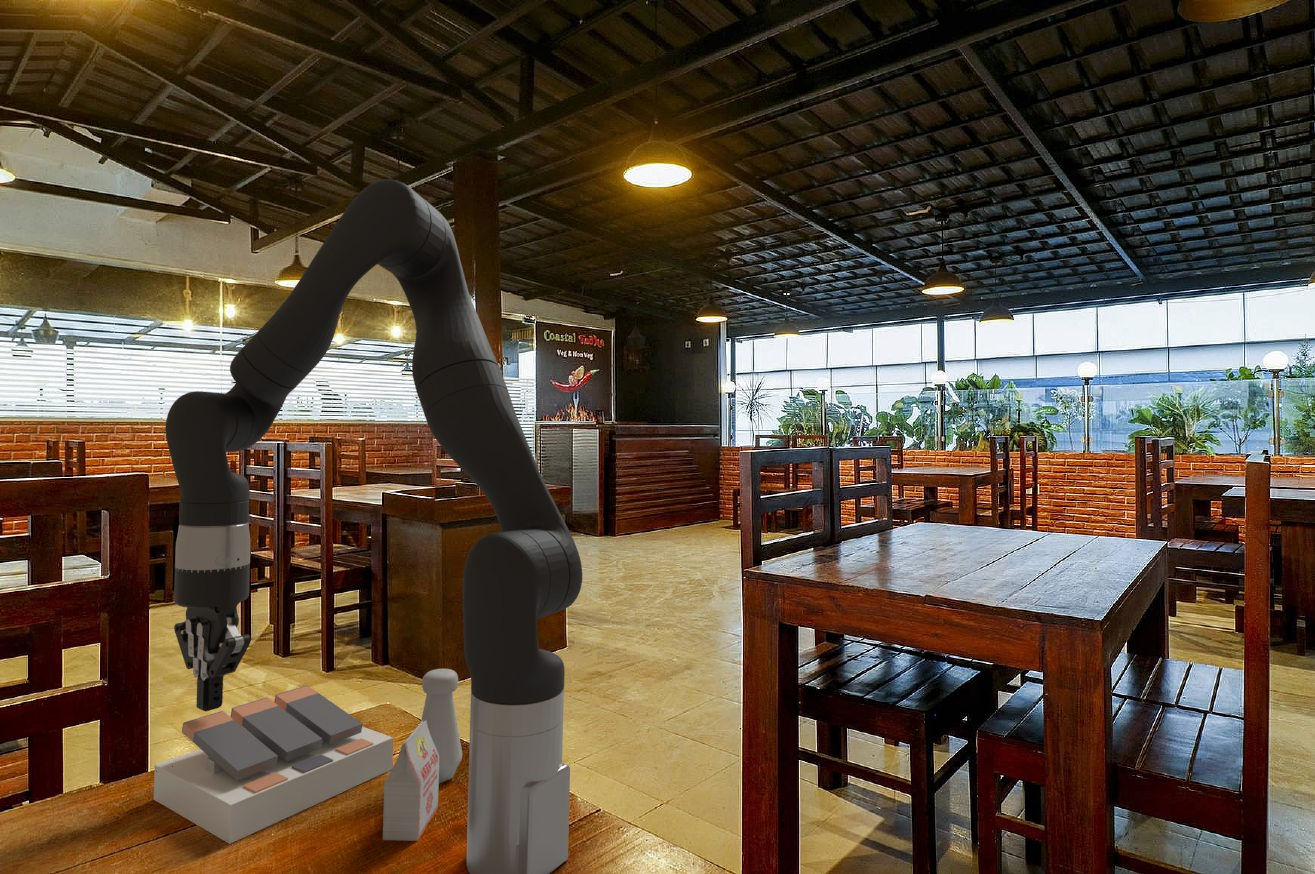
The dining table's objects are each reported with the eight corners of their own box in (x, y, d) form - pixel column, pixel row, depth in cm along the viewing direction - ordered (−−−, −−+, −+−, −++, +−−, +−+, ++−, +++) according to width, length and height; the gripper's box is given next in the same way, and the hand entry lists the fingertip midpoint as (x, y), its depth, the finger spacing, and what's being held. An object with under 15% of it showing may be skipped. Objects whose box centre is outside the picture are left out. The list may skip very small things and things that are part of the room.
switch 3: (361, 732, 90) (362, 723, 90) (329, 745, 86) (330, 735, 86) (306, 693, 96) (307, 685, 96) (274, 703, 92) (275, 694, 92)
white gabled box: (382, 840, 75) (385, 744, 75) (405, 806, 81) (408, 719, 82) (417, 841, 75) (420, 745, 75) (438, 807, 81) (440, 720, 82)
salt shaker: (453, 788, 86) (456, 680, 86) (406, 786, 86) (409, 678, 86) (467, 766, 92) (469, 665, 92) (423, 764, 92) (425, 663, 92)
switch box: (392, 769, 90) (393, 726, 90) (229, 844, 73) (231, 791, 73) (315, 738, 99) (316, 699, 99) (153, 799, 81) (154, 752, 81)
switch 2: (321, 748, 85) (322, 738, 85) (285, 762, 82) (287, 752, 81) (265, 706, 91) (267, 697, 91) (230, 717, 88) (231, 707, 88)
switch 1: (276, 765, 81) (278, 755, 80) (236, 781, 77) (238, 770, 77) (221, 720, 87) (222, 710, 87) (181, 732, 83) (183, 722, 83)
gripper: (276, 563, 84) (272, 710, 84) (216, 551, 91) (213, 687, 91) (209, 573, 77) (204, 732, 77) (150, 559, 84) (146, 705, 84)
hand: (209, 708), depth 84 cm, fingers closed
